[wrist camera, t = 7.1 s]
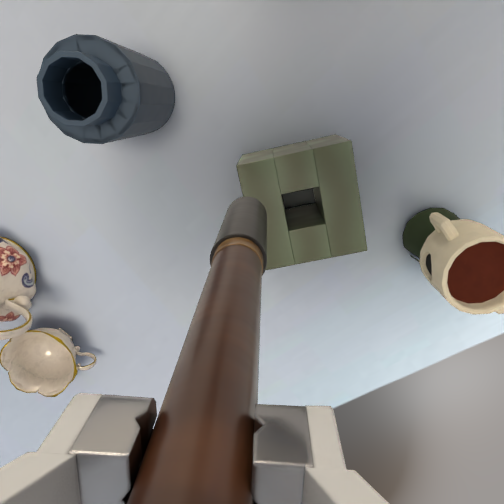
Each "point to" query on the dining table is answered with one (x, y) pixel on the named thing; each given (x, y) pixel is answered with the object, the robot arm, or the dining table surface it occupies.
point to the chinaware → (31, 331)
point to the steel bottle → (103, 90)
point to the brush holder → (312, 215)
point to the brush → (214, 379)
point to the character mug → (459, 259)
